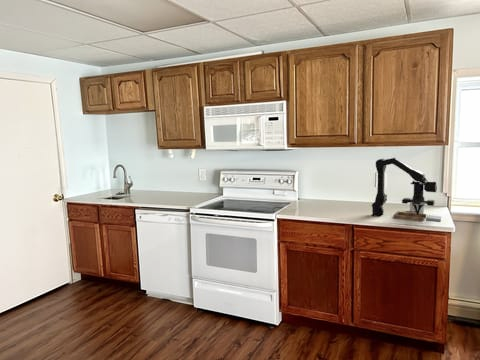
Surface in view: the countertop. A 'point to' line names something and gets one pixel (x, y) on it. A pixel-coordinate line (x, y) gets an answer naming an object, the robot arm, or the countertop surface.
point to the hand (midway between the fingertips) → (417, 214)
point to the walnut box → (409, 216)
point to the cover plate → (433, 218)
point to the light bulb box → (414, 208)
